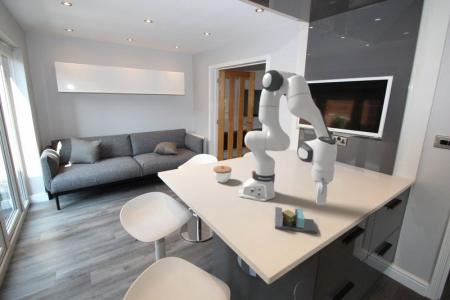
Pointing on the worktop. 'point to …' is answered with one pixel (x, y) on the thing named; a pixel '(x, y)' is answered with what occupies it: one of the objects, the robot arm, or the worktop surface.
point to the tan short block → (289, 217)
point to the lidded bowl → (222, 173)
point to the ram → (299, 218)
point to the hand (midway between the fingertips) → (318, 203)
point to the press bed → (279, 224)
